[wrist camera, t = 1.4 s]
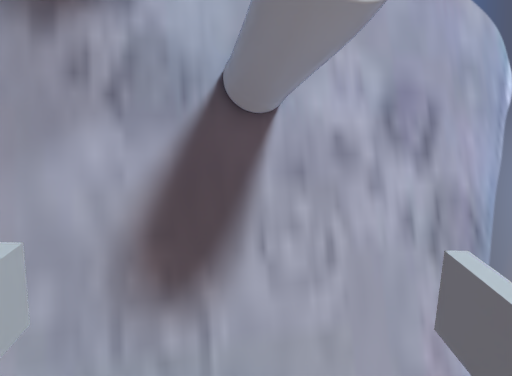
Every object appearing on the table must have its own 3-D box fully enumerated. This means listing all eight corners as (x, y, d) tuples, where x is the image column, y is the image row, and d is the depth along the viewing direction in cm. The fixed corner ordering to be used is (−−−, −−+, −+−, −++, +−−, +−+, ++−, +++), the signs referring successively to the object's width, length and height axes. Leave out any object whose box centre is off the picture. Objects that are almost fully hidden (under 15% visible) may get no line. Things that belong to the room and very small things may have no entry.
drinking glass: (289, 132, 37) (406, 19, 23) (207, 114, 35) (284, -21, 21) (292, 60, 39) (402, -81, 26) (216, 39, 37) (291, -127, 24)
